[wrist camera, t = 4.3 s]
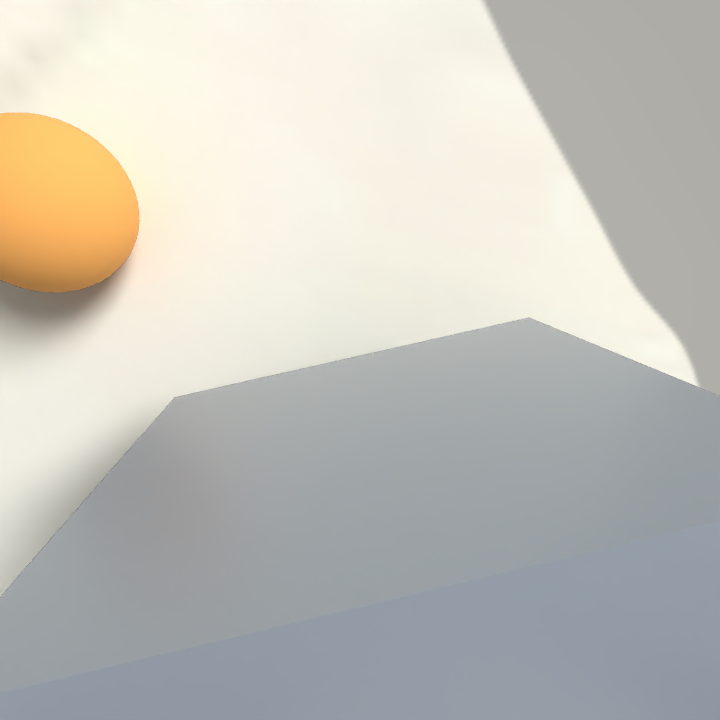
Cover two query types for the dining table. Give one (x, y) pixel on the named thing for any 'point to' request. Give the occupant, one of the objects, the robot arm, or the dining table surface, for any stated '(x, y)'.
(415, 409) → the slate blue cube
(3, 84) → the dining table surface
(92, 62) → the dining table surface
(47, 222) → the ball
